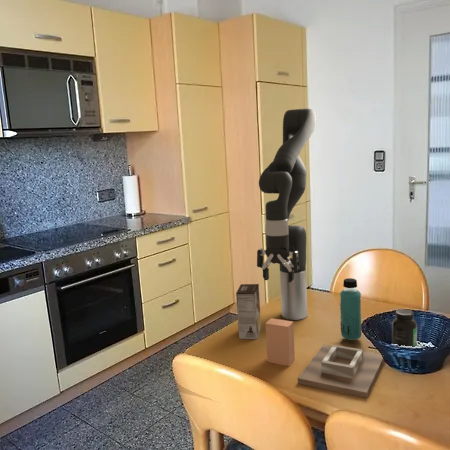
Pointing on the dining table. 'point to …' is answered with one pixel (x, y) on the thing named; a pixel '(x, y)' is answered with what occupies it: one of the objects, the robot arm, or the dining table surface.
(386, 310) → the dining table surface
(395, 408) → the dining table surface
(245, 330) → the coffee box
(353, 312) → the beverage bottle
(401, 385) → the dining table surface
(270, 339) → the keyed peg
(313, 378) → the keyed holder
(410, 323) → the supplement bottle
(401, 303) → the dining table surface
